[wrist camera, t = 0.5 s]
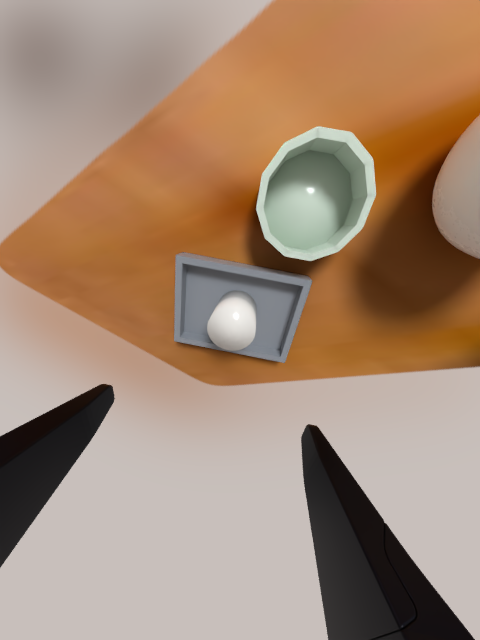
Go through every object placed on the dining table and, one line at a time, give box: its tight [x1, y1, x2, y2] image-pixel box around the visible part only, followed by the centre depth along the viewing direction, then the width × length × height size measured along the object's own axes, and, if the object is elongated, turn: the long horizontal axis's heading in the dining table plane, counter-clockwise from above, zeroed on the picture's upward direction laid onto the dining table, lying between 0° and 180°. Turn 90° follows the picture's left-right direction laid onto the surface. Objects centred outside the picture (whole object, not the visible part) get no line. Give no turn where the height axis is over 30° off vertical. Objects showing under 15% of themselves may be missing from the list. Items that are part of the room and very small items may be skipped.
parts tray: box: [174, 252, 312, 363], centre depth 20 cm, size 12×9×2 cm
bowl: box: [256, 126, 376, 261], centre depth 15 cm, size 8×8×3 cm
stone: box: [207, 290, 257, 351], centre depth 18 cm, size 4×4×4 cm
